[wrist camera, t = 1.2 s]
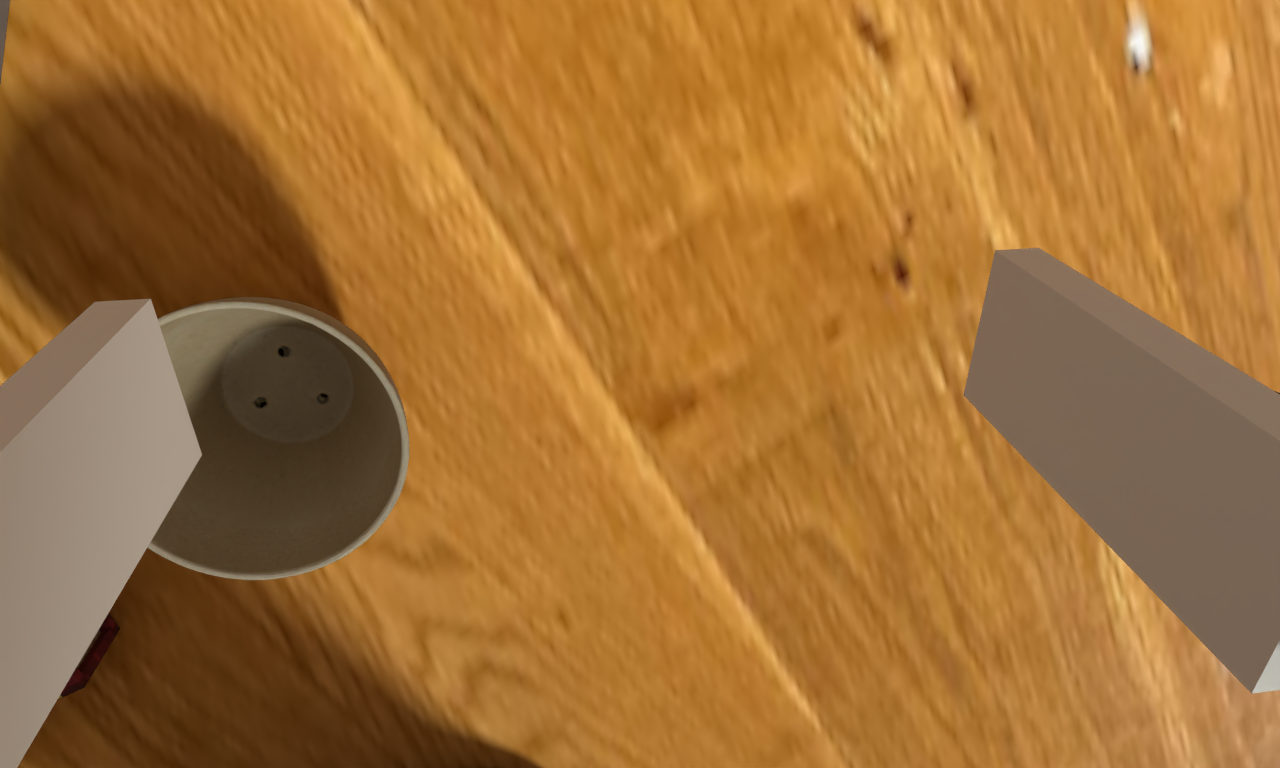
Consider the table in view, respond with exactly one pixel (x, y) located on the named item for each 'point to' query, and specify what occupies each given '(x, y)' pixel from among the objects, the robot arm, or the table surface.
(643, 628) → the table surface
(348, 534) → the flower pot
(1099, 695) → the table surface
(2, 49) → the grey open tray
